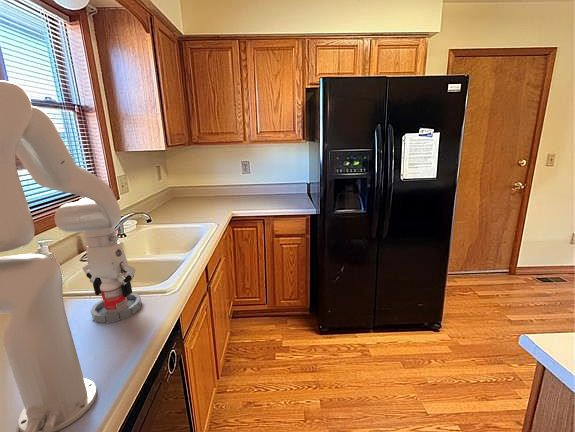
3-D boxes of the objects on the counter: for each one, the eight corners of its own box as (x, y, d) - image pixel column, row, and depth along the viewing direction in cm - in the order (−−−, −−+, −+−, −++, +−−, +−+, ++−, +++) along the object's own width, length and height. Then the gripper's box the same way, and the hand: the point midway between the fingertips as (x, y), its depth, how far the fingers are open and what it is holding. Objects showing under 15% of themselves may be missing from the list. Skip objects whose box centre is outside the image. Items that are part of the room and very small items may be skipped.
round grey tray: (138, 316, 93) (136, 309, 92) (87, 326, 89) (85, 320, 89) (143, 295, 105) (142, 289, 104) (99, 304, 101) (97, 297, 101)
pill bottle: (111, 304, 100) (103, 271, 97) (131, 302, 100) (124, 269, 97) (102, 315, 94) (93, 280, 91) (123, 313, 94) (116, 278, 91)
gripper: (136, 235, 93) (147, 289, 97) (87, 234, 97) (99, 286, 101) (117, 245, 86) (130, 302, 90) (65, 243, 90) (79, 298, 94)
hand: (114, 293), depth 96 cm, fingers open, 9 cm apart
